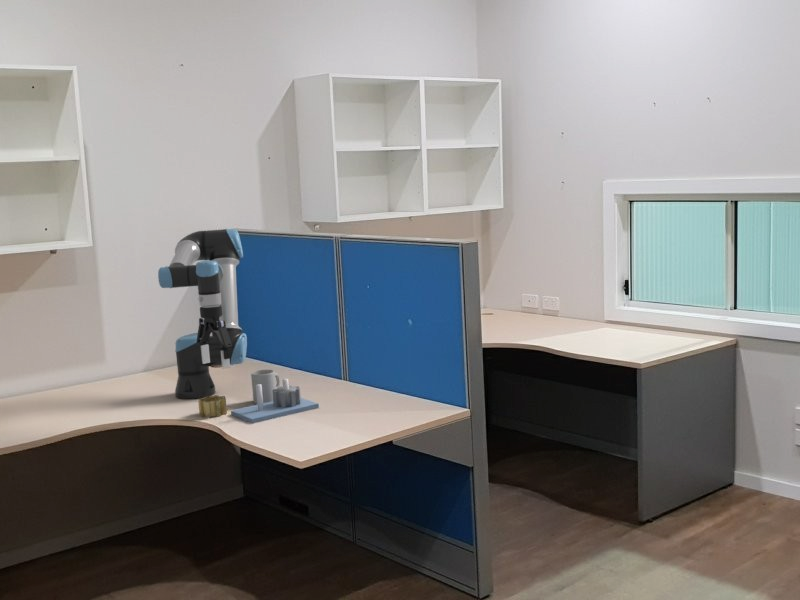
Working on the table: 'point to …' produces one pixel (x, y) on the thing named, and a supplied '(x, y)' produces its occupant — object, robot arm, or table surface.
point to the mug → (265, 384)
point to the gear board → (275, 404)
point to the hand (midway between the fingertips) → (216, 365)
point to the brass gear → (212, 406)
